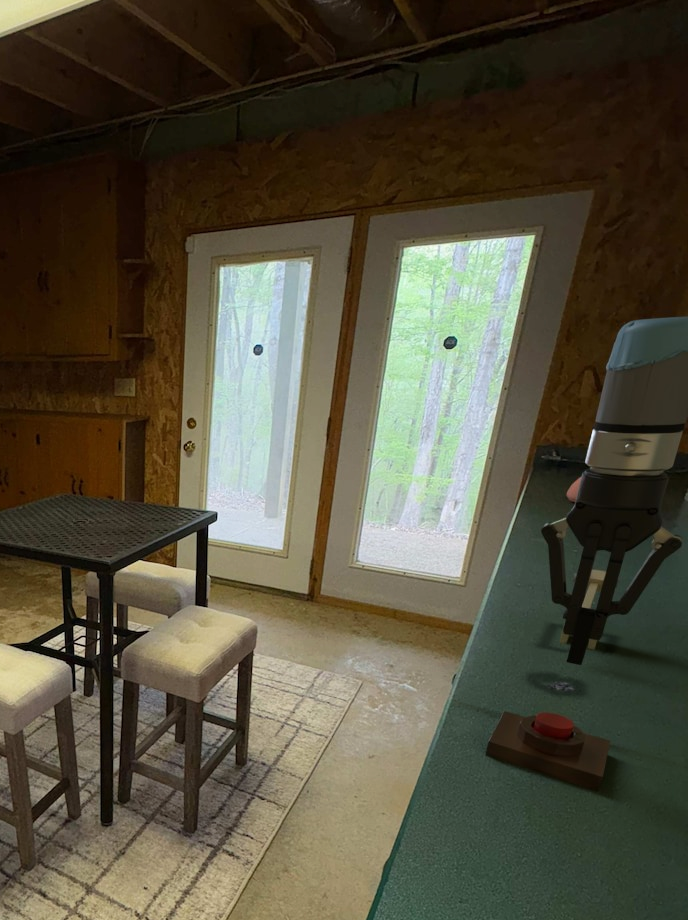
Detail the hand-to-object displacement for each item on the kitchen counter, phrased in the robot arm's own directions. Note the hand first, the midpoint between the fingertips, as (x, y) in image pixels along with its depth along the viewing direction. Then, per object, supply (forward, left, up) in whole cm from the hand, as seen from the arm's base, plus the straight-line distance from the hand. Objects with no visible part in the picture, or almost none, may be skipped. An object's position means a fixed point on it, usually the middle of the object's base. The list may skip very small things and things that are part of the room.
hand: (575, 659), depth 78 cm
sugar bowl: (+13, -180, -14) cm, 181 cm away
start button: (0, 0, -11) cm, 11 cm away
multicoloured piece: (+1, -36, -4) cm, 36 cm away
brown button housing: (0, 0, -14) cm, 14 cm away
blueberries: (+1, -21, -14) cm, 25 cm away
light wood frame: (+1, -41, -14) cm, 43 cm away
